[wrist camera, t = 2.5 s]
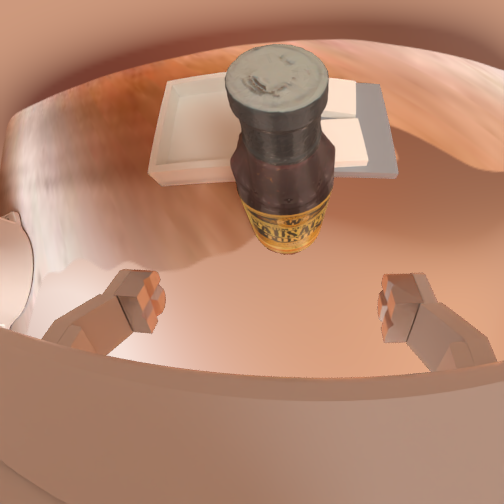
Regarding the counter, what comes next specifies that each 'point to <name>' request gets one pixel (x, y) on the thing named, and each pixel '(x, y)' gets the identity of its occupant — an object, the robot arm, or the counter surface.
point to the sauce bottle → (281, 144)
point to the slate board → (372, 136)
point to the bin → (194, 133)
